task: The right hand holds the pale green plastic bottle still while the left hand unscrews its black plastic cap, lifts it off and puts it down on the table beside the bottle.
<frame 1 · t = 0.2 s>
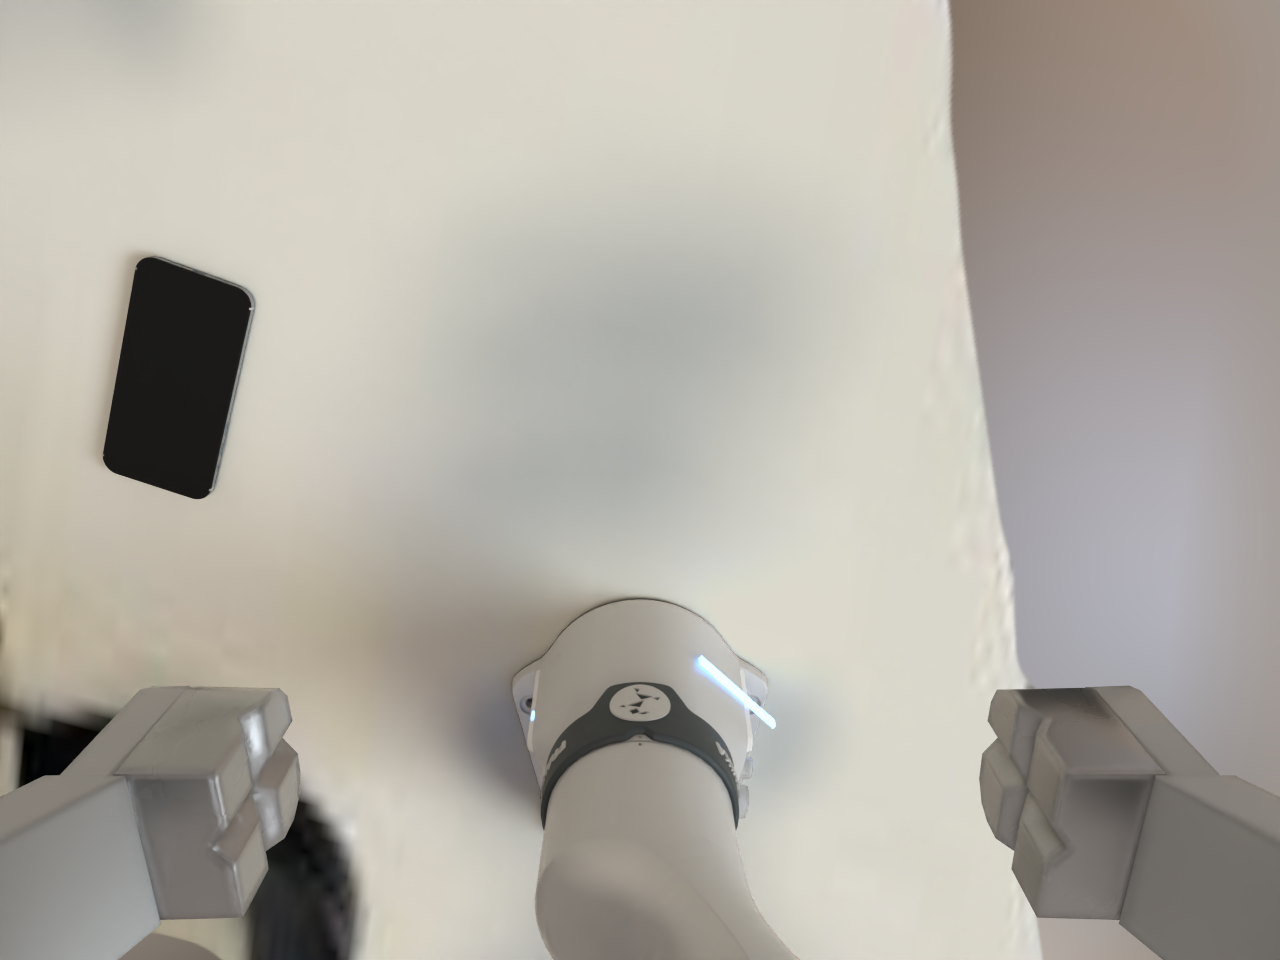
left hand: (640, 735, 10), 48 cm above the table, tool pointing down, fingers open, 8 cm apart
smartphone: (180, 380, 58), on the table
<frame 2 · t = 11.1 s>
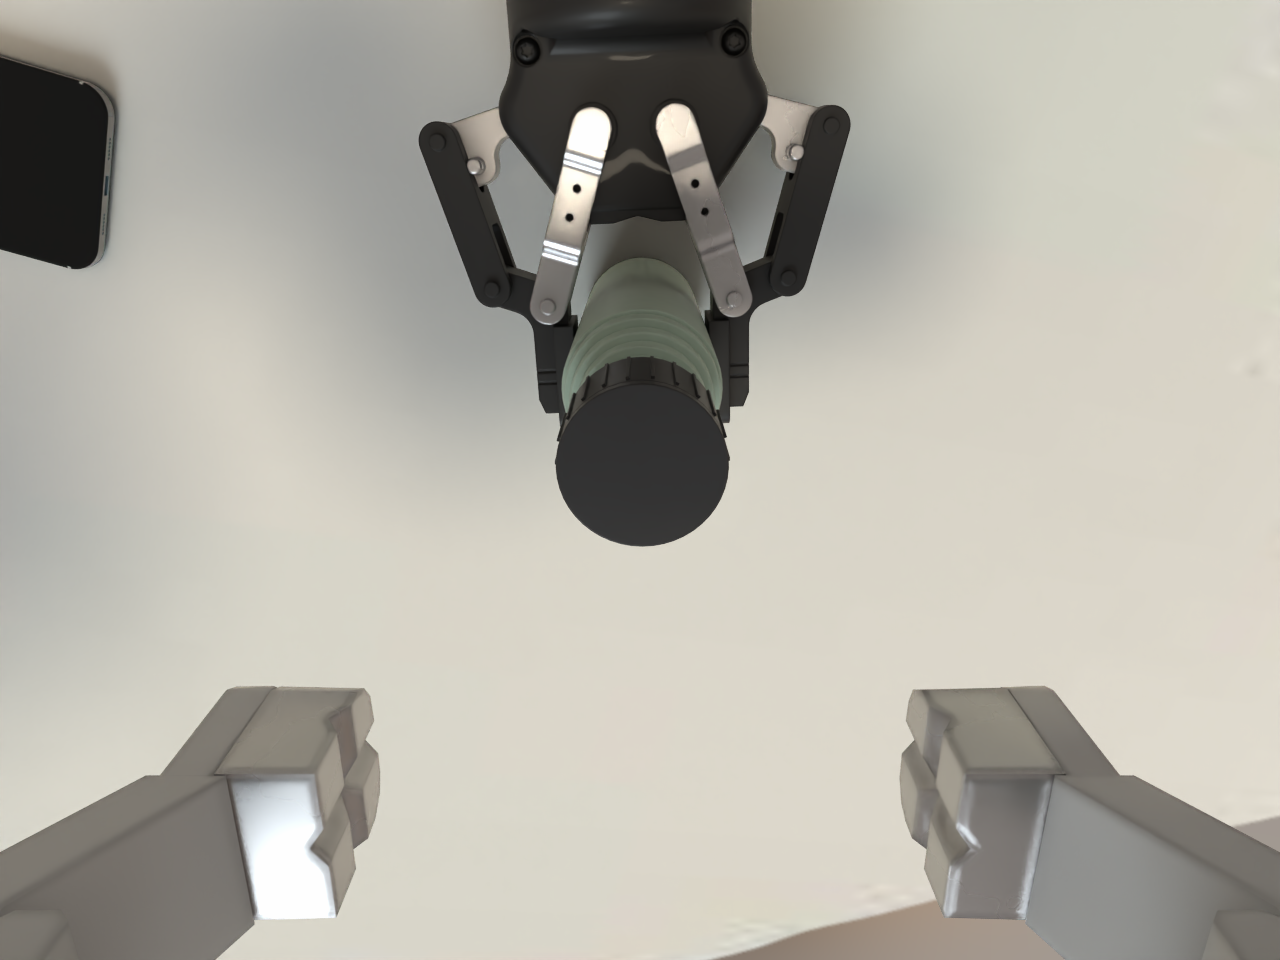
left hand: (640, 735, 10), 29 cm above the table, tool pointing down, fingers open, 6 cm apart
right hand: (645, 418, 32), fingers closed on bottle, 4 cm apart
cap: (642, 463, 19), point 19 cm above the table, screwed on, not yet turned
bottle: (641, 313, 37), on the table, touching right hand
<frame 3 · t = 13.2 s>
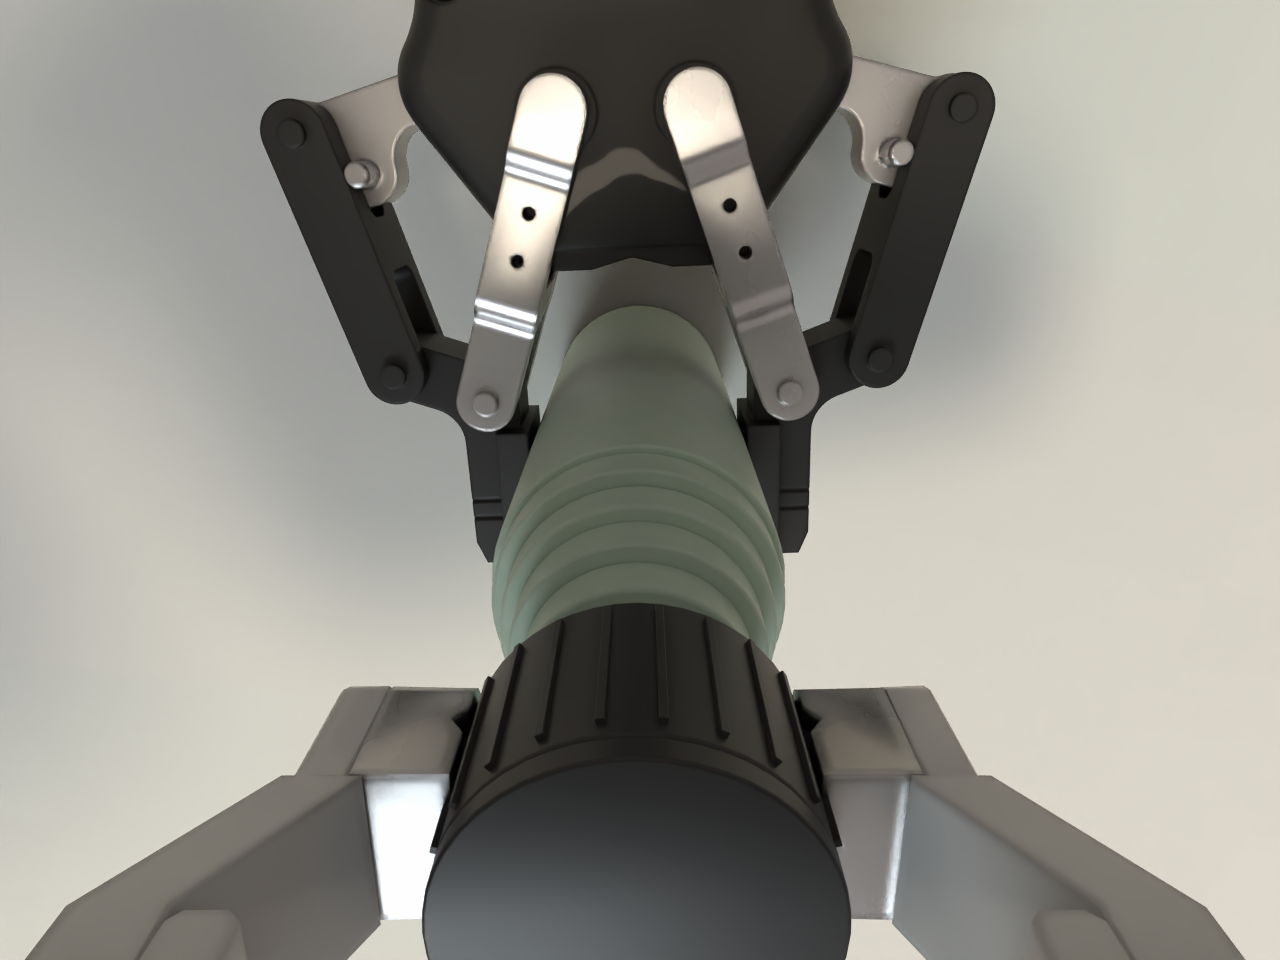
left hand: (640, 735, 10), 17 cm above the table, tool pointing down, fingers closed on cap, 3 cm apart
right hand: (644, 564, 21), fingers closed on bottle, 4 cm apart
cap: (636, 908, 8), point 19 cm above the table, screwed on, not yet turned, touching left hand
bottle: (639, 384, 26), on the table, touching right hand
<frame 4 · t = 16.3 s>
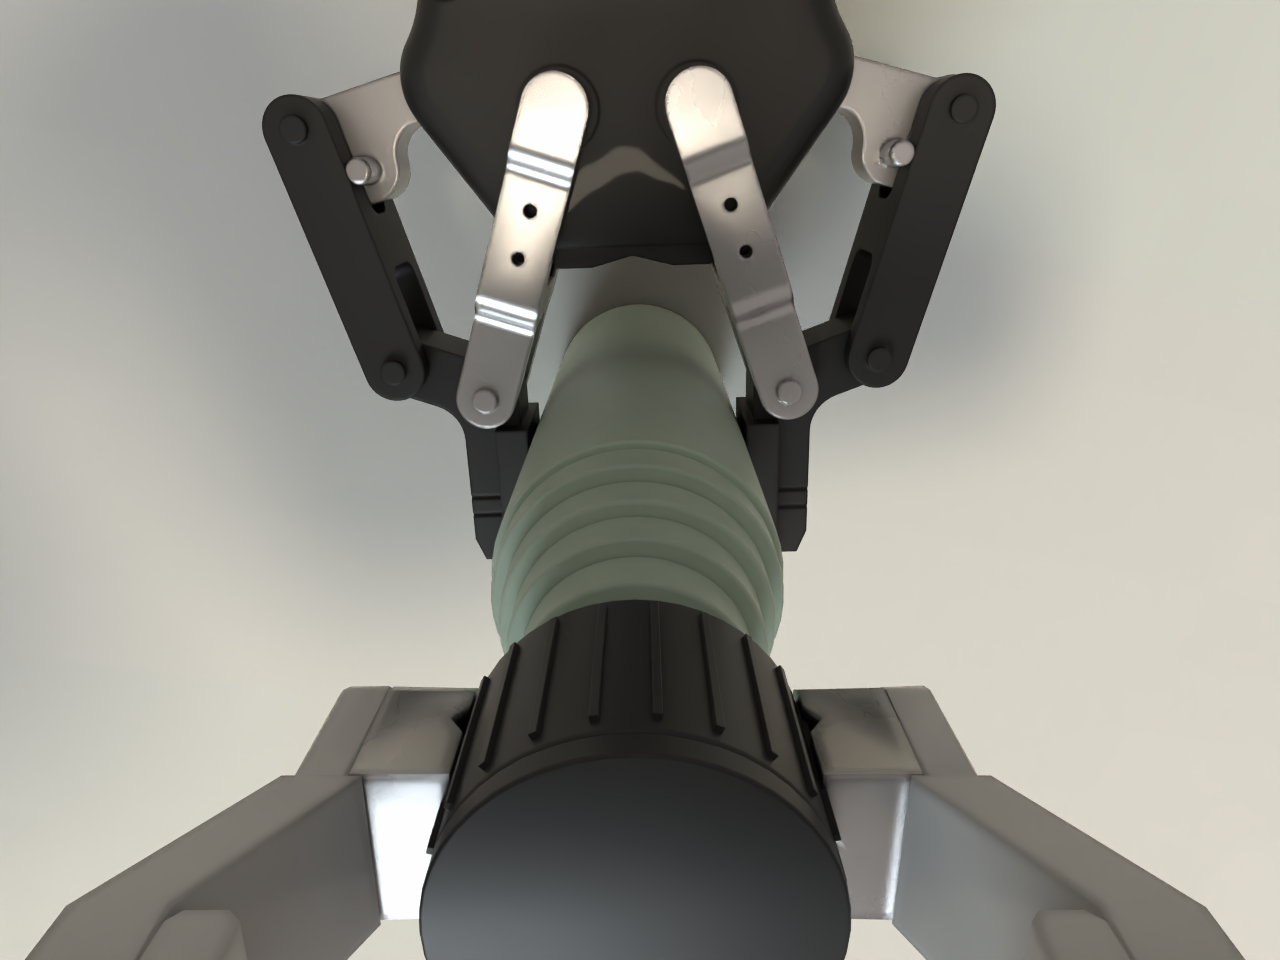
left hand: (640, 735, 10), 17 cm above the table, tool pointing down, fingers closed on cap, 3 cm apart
right hand: (643, 562, 21), fingers closed on bottle, 4 cm apart
cap: (635, 906, 8), point 19 cm above the table, turned 84° so far, risen 0.1 cm, still on its thread, touching left hand
bottle: (638, 383, 26), on the table, touching right hand
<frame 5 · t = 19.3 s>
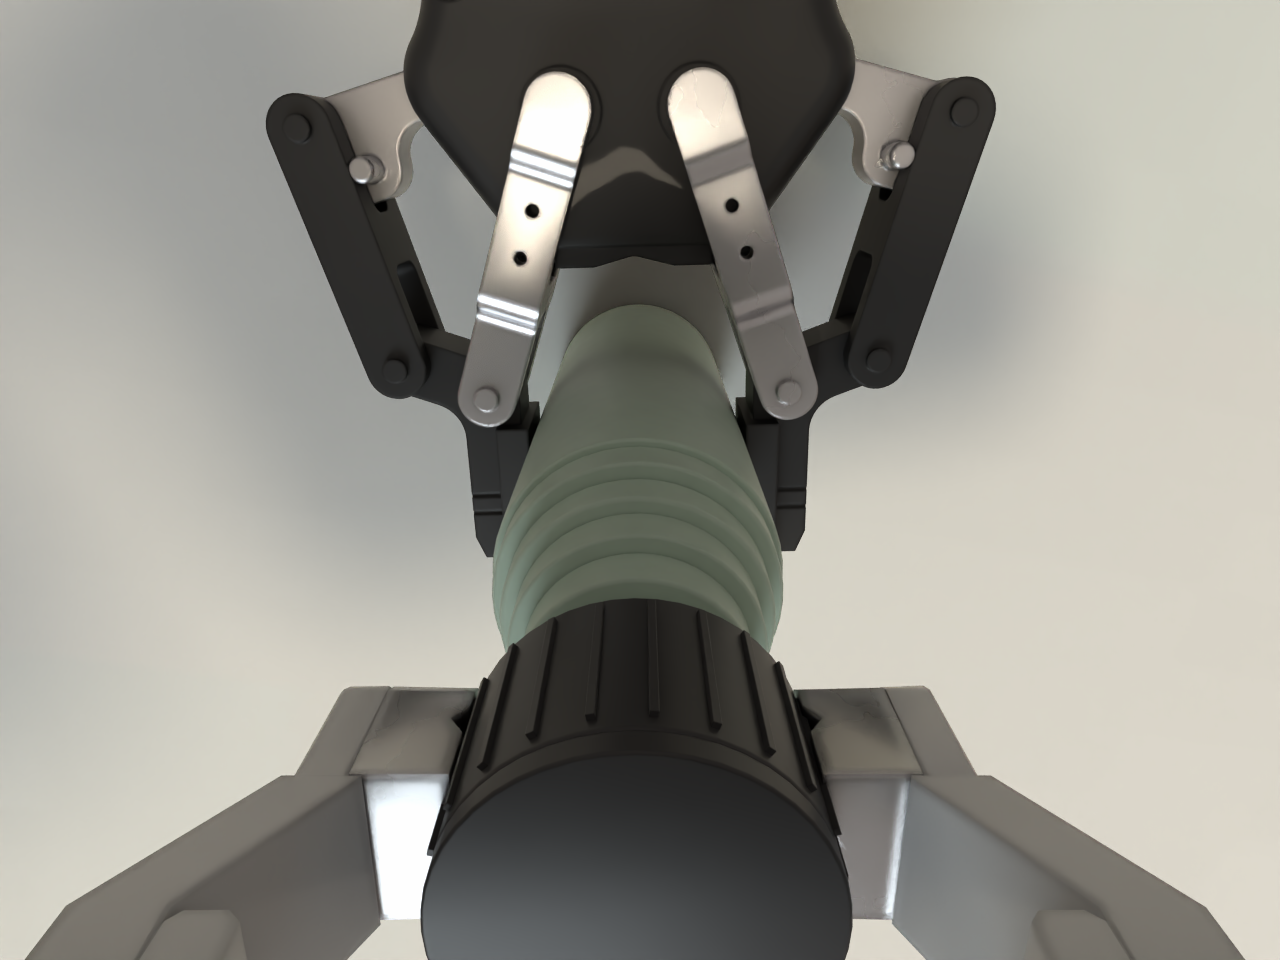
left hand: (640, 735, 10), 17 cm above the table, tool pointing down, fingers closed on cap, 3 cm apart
right hand: (642, 561, 21), fingers closed on bottle, 4 cm apart
cap: (636, 904, 8), point 19 cm above the table, turned 167° so far, risen 0.2 cm, still on its thread, touching left hand
bottle: (638, 383, 26), on the table, touching right hand
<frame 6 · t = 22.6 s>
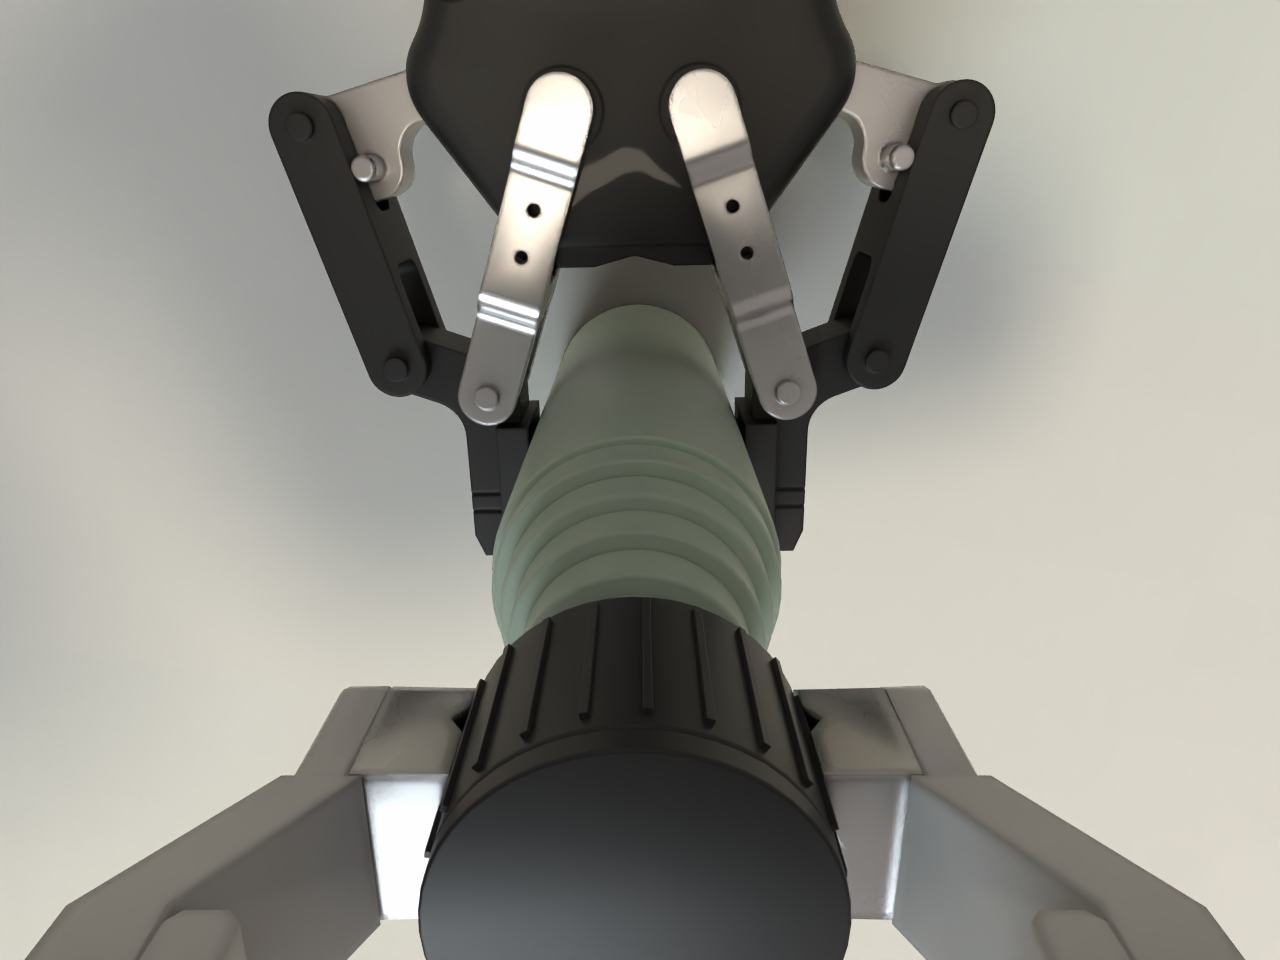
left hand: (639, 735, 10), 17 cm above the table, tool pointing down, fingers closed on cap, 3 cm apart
right hand: (641, 559, 21), fingers closed on bottle, 4 cm apart
cap: (634, 903, 8), point 19 cm above the table, turned 251° so far, risen 0.2 cm, still on its thread, touching left hand
bottle: (637, 383, 26), on the table, touching right hand
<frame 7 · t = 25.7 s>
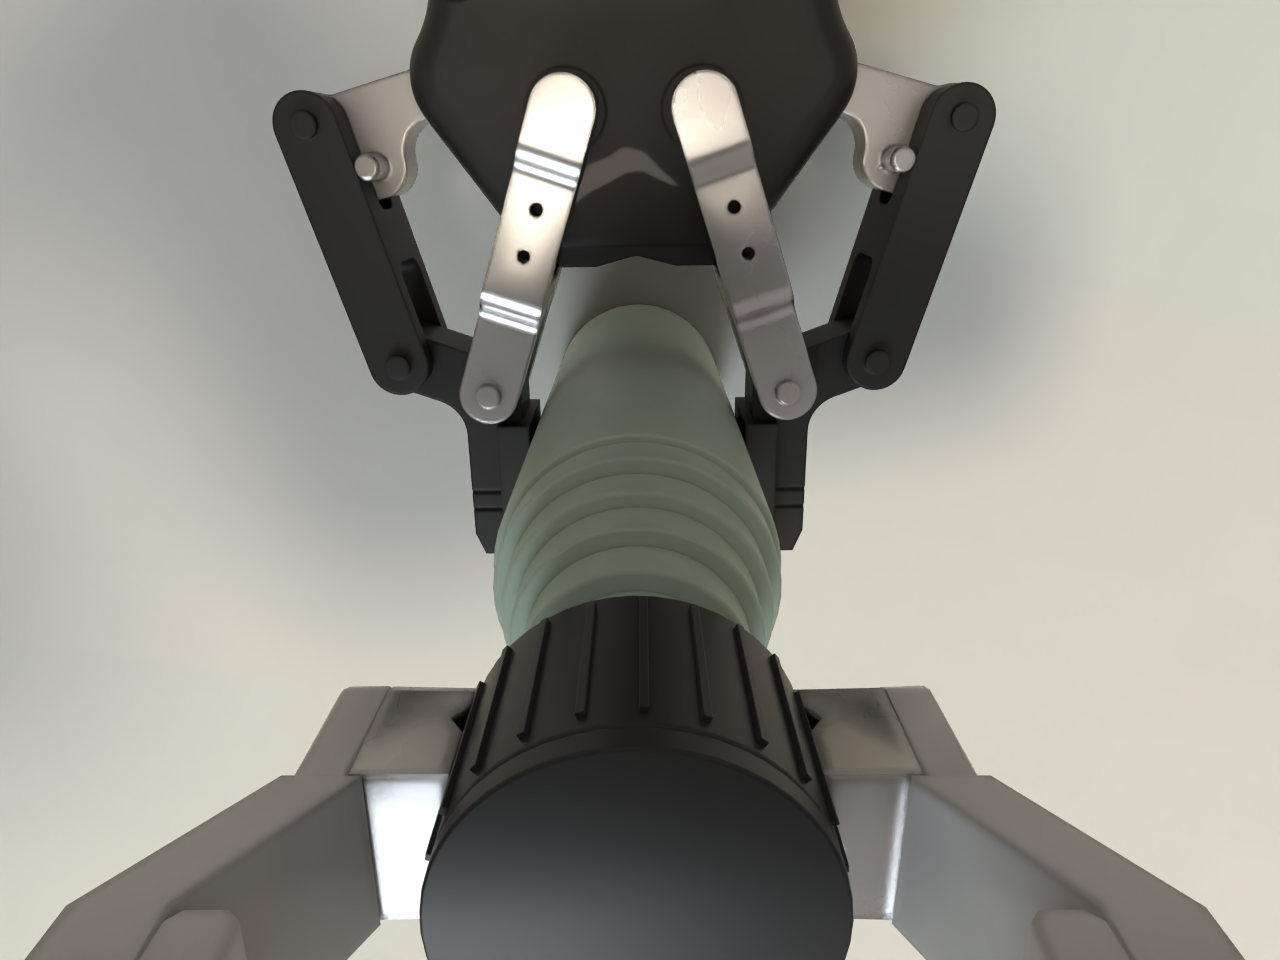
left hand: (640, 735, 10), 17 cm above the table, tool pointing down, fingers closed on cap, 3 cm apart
right hand: (640, 558, 21), fingers closed on bottle, 4 cm apart
cap: (636, 902, 8), point 19 cm above the table, turned 334° so far, risen 0.3 cm, still on its thread, touching left hand
bottle: (638, 382, 26), on the table, touching right hand
when the left hand's fingers open (2 cm above the table, at t = 31.7 s): cap drops 2 cm, point 2 cm above the table.
when the right hand's fingers open (6 cm above the table, at t = 32.9 s): bottle stays where it is, on the table.
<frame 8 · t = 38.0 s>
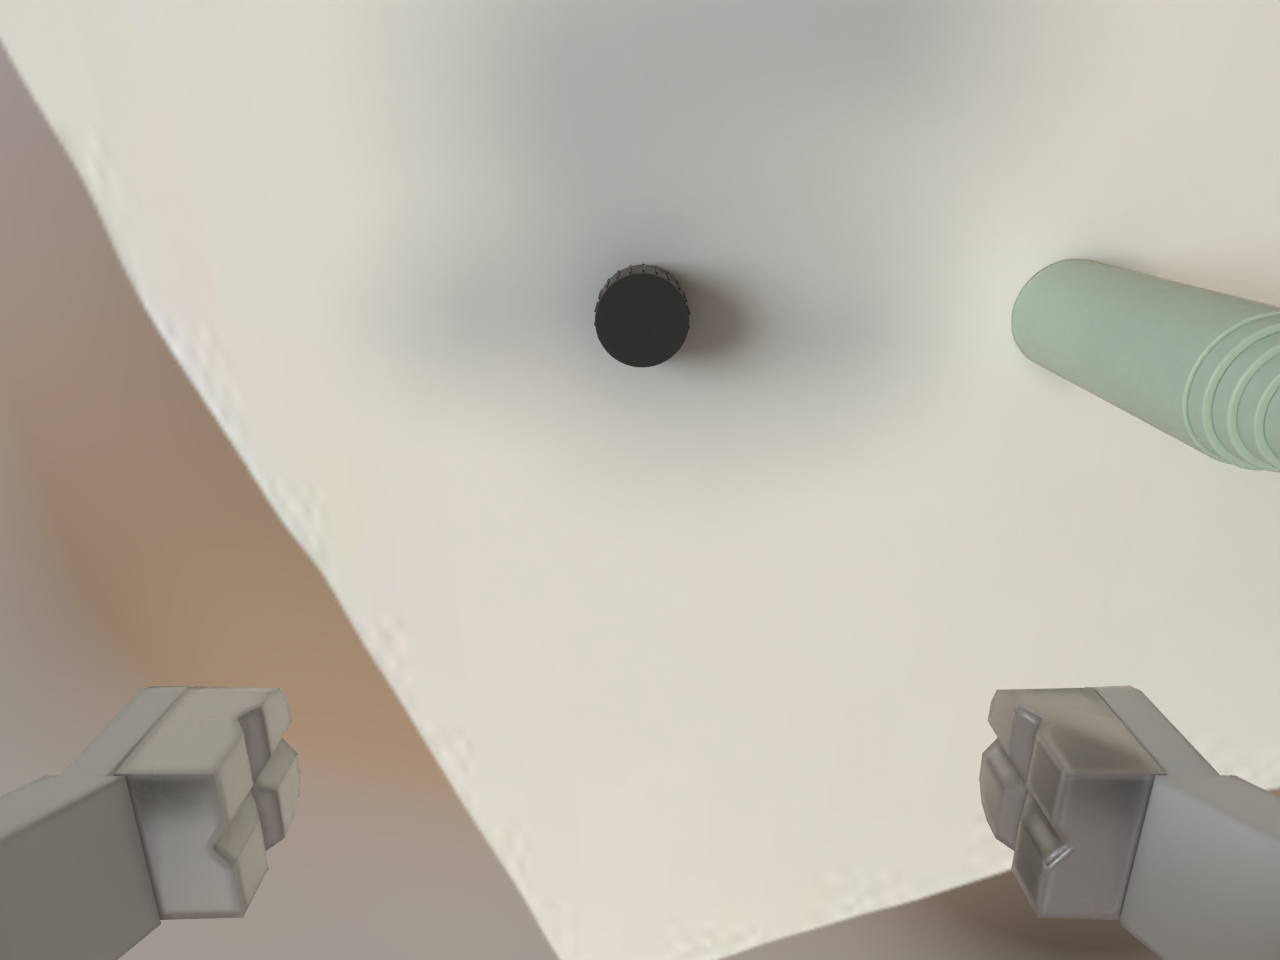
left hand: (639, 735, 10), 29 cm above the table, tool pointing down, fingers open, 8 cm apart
cap: (642, 319, 35), point 2 cm above the table, off its thread
bottle: (1066, 314, 38), on the table
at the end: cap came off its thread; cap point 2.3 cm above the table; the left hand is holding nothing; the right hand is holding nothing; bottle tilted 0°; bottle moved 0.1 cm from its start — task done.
